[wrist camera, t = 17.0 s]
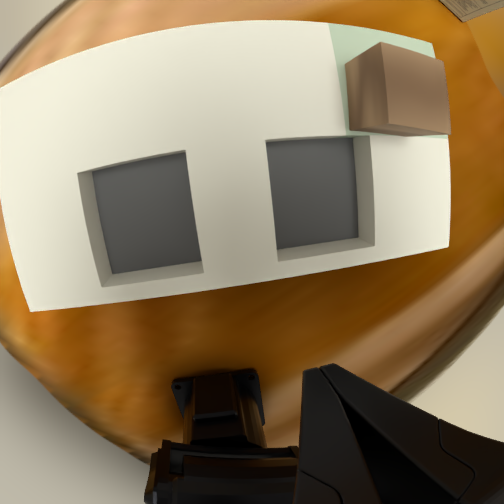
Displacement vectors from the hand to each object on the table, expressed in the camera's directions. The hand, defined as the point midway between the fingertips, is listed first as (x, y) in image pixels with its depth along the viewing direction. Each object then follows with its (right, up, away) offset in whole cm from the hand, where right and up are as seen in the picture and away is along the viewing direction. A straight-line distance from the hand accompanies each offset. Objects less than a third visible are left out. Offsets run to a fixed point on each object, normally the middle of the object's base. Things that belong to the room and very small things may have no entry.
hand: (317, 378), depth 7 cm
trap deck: (-3, +9, +9) cm, 14 cm away
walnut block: (+5, +12, +7) cm, 15 cm away
